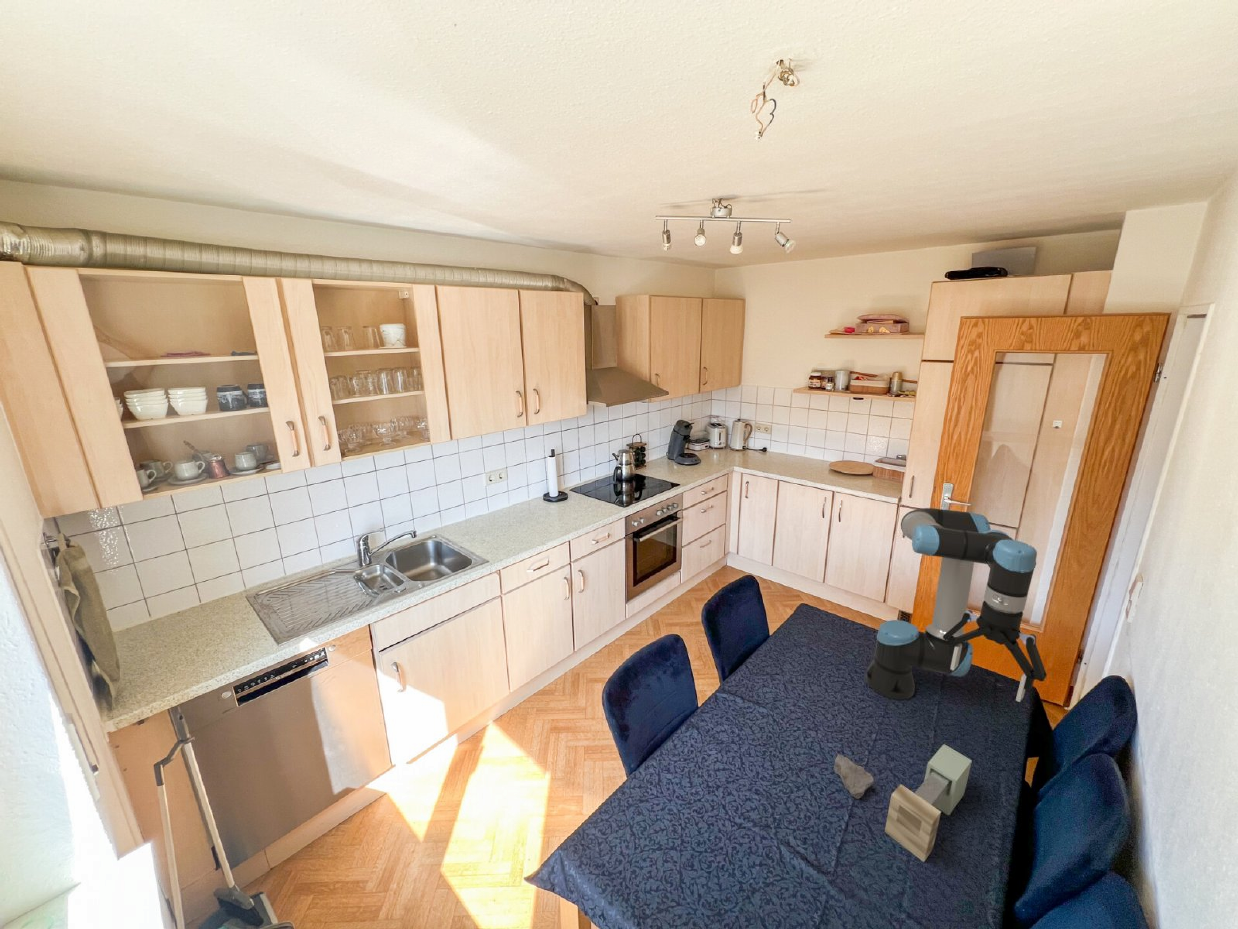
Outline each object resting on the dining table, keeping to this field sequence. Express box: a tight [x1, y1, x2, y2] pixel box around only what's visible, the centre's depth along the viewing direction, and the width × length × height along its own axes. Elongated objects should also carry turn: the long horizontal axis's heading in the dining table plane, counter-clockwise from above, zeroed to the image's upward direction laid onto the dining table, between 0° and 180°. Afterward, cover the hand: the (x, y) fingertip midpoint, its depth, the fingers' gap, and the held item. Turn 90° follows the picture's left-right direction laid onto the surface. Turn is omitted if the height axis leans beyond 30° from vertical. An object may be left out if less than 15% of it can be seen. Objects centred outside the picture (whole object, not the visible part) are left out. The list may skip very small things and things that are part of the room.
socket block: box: [884, 783, 942, 863], centre depth 117 cm, size 5×9×12 cm, turn 37°
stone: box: [833, 754, 875, 800], centre depth 133 cm, size 8×10×6 cm
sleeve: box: [923, 744, 973, 816], centre depth 129 cm, size 10×7×11 cm, turn 127°
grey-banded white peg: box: [914, 770, 952, 809], centre depth 121 cm, size 18×4×4 cm, turn 127°
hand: (985, 682), depth 119 cm, fingers open, 13 cm apart
